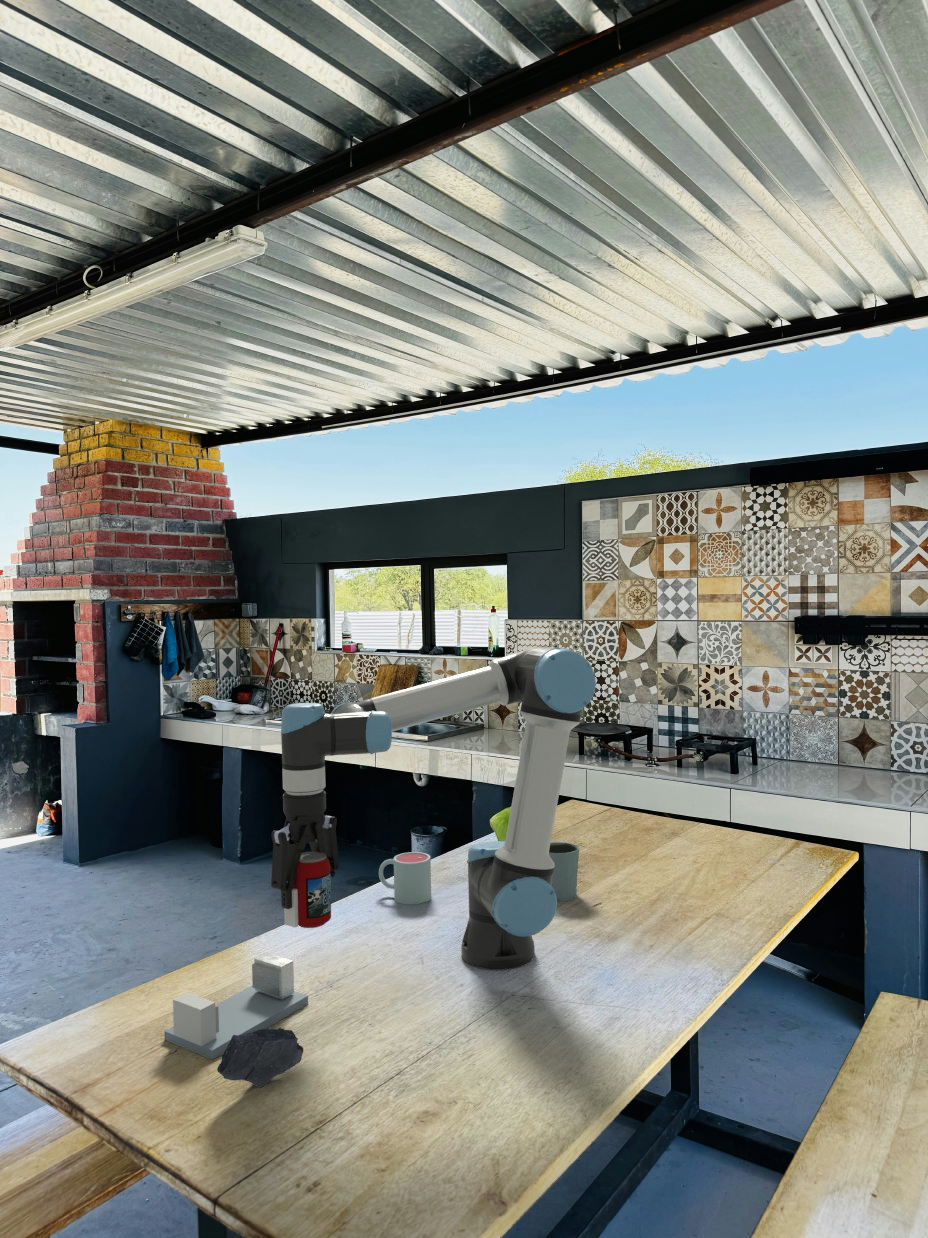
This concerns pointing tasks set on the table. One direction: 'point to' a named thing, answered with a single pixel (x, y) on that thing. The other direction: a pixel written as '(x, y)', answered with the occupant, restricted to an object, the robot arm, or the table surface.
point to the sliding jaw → (273, 975)
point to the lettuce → (500, 823)
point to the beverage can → (313, 890)
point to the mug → (409, 877)
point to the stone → (260, 1055)
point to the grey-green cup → (564, 870)
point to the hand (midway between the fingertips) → (307, 918)
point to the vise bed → (226, 1018)
